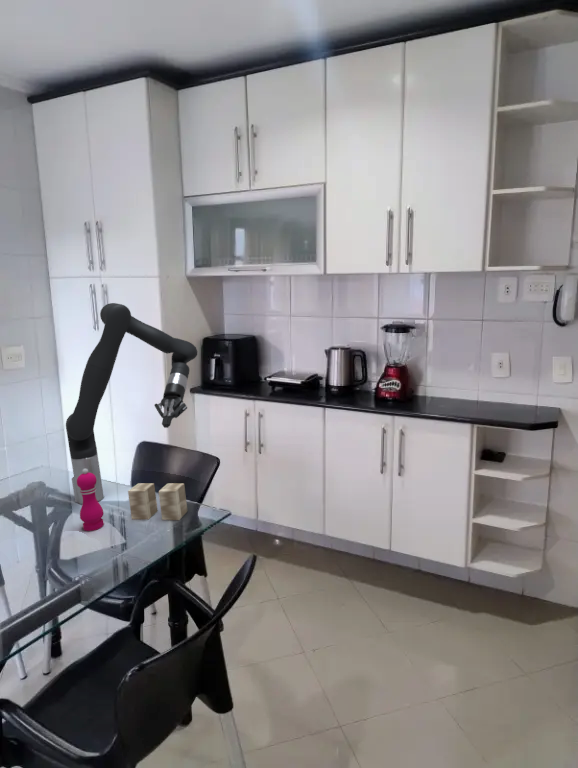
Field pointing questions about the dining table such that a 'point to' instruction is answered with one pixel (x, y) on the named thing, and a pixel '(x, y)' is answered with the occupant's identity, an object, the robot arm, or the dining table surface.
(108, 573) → the dining table surface
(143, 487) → the post left
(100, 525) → the pepper mill
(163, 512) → the post right
